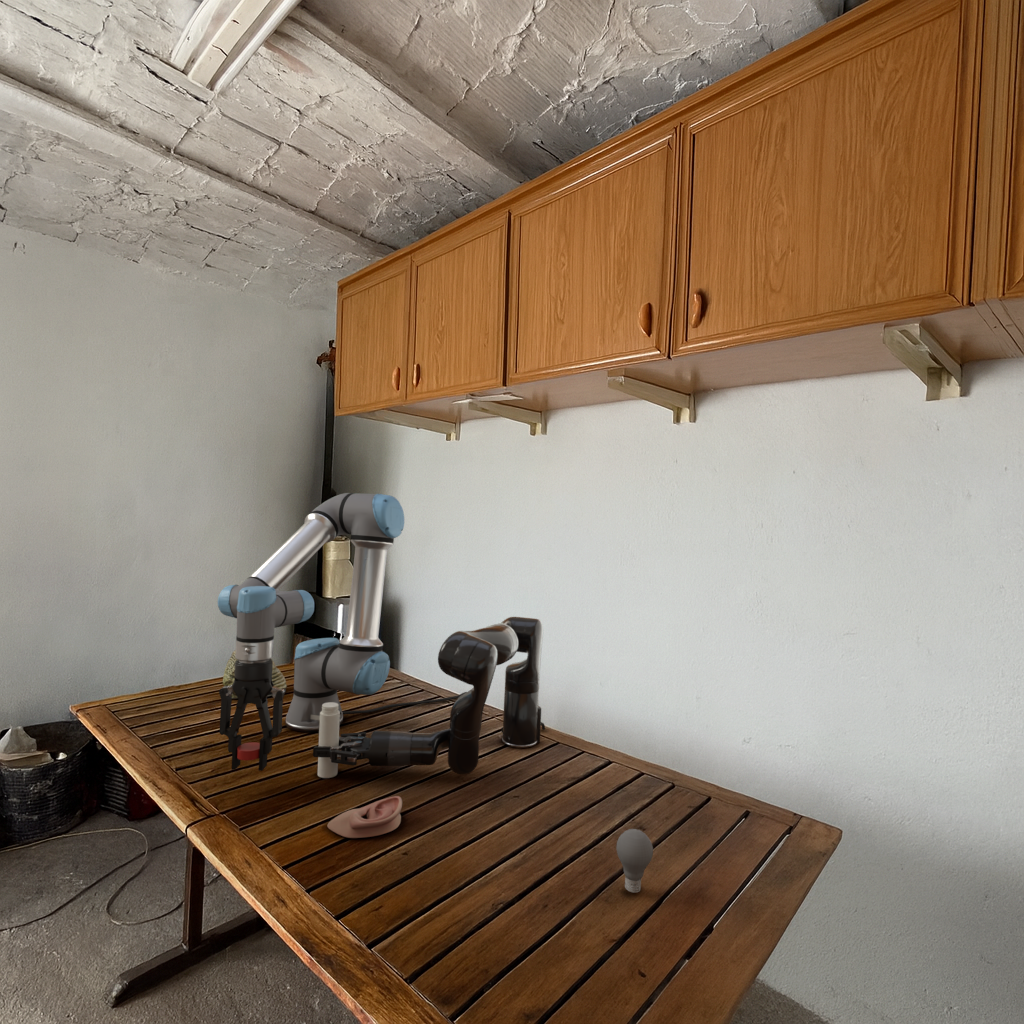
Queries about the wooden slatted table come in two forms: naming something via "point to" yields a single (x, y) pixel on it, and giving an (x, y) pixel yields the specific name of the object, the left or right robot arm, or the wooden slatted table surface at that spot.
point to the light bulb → (634, 857)
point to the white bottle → (328, 737)
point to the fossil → (230, 671)
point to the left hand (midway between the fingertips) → (249, 767)
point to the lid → (248, 751)
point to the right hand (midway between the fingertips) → (316, 747)
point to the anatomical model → (369, 819)
